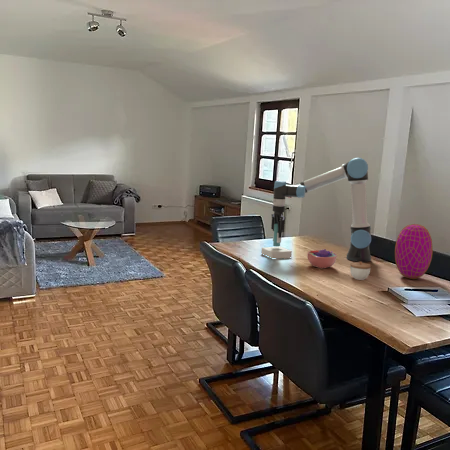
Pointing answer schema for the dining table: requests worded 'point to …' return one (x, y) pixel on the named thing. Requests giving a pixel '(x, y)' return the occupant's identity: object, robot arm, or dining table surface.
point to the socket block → (276, 252)
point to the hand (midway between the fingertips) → (276, 241)
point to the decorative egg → (413, 251)
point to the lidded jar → (360, 270)
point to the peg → (275, 235)
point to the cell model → (321, 258)
